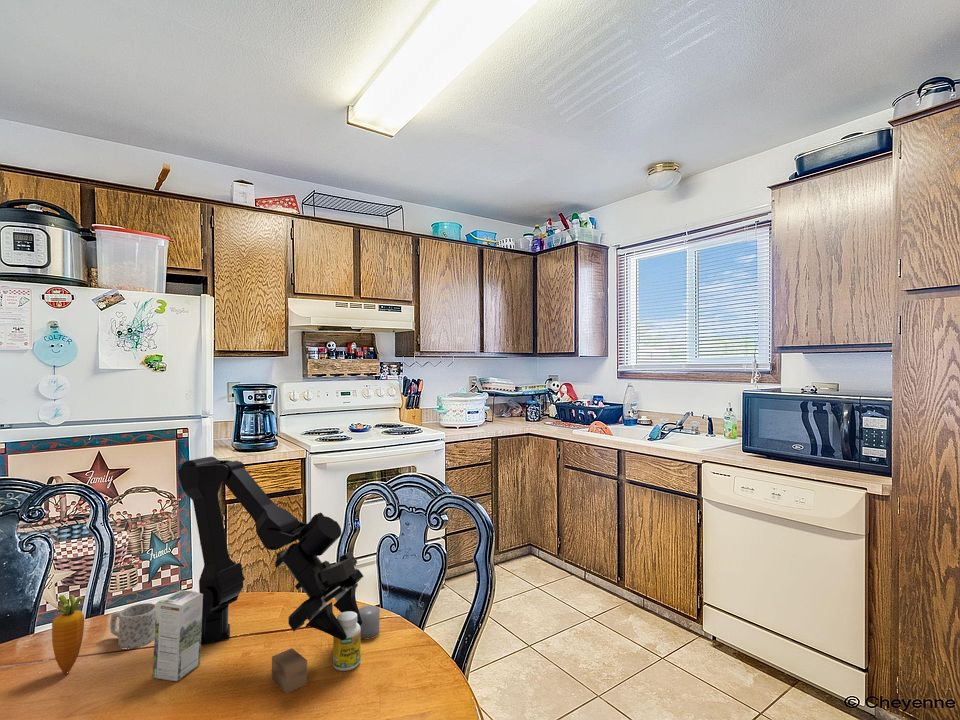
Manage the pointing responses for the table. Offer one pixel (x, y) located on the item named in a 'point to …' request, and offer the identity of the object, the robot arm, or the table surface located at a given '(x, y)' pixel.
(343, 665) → the supplement bottle
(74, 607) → the carrot
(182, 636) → the syrup box
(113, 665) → the table surface
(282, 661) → the walnut block
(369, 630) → the gray capsule
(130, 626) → the mug
